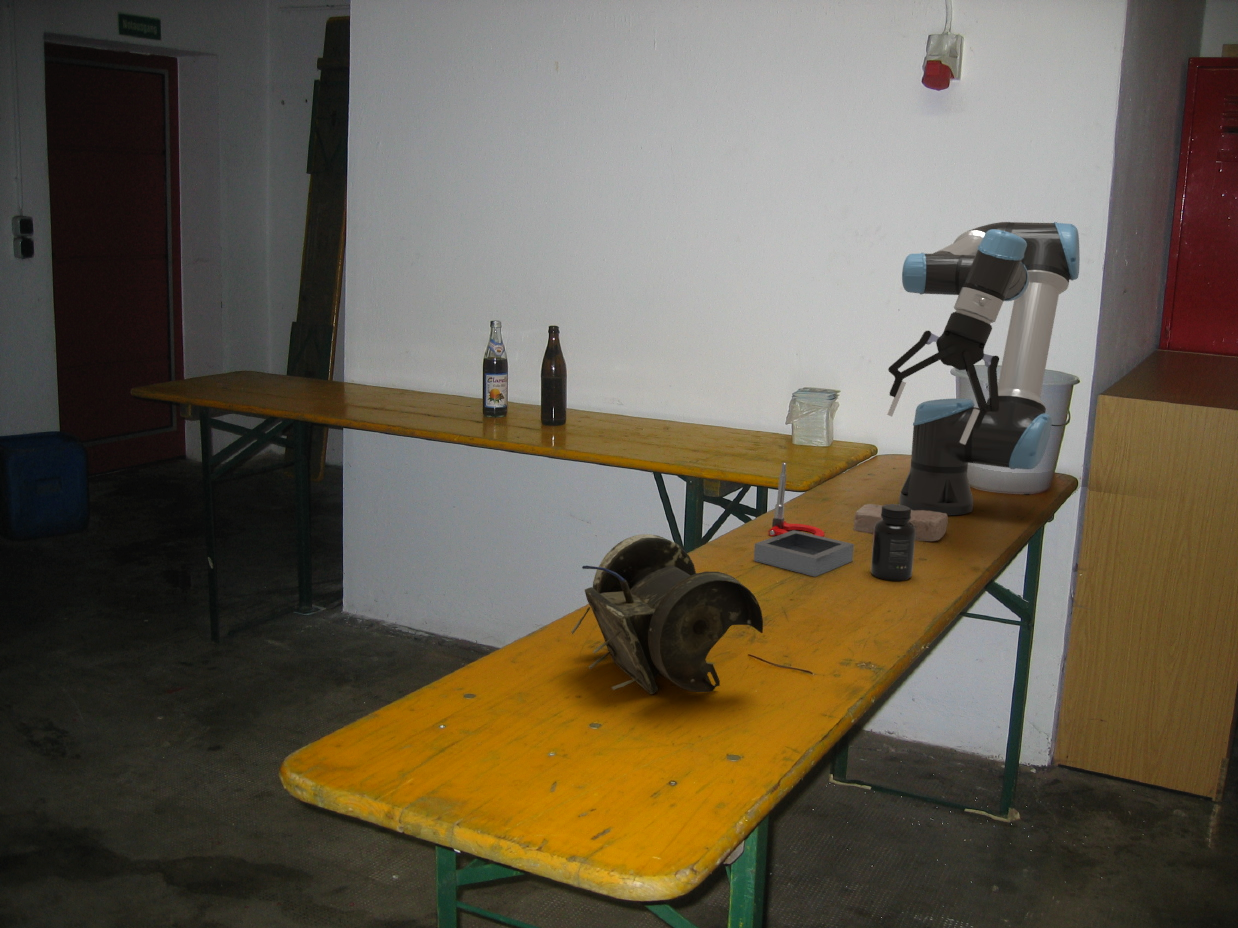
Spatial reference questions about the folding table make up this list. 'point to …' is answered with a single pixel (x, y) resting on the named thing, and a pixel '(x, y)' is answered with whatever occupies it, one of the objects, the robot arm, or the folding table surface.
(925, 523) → the brick
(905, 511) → the supplement bottle
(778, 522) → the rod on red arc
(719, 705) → the folding table surface
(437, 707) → the folding table surface
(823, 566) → the keeper tray
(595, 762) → the folding table surface
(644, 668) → the bench grinder
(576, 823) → the folding table surface
